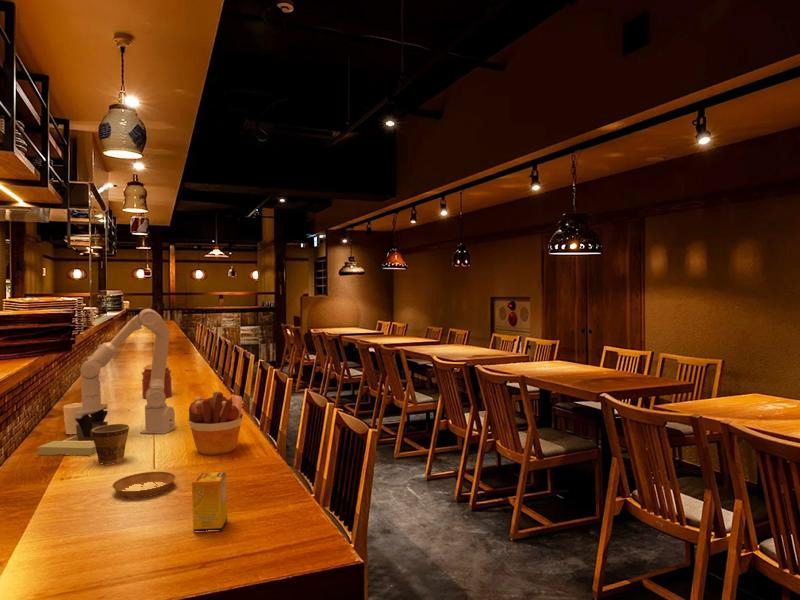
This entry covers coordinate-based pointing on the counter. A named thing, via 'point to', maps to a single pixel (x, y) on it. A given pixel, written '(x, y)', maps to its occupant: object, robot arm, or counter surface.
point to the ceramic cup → (110, 442)
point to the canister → (147, 378)
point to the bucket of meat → (215, 423)
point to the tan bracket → (68, 447)
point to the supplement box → (209, 501)
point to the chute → (94, 425)
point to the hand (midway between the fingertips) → (92, 434)
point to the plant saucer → (142, 479)
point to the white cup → (71, 417)
